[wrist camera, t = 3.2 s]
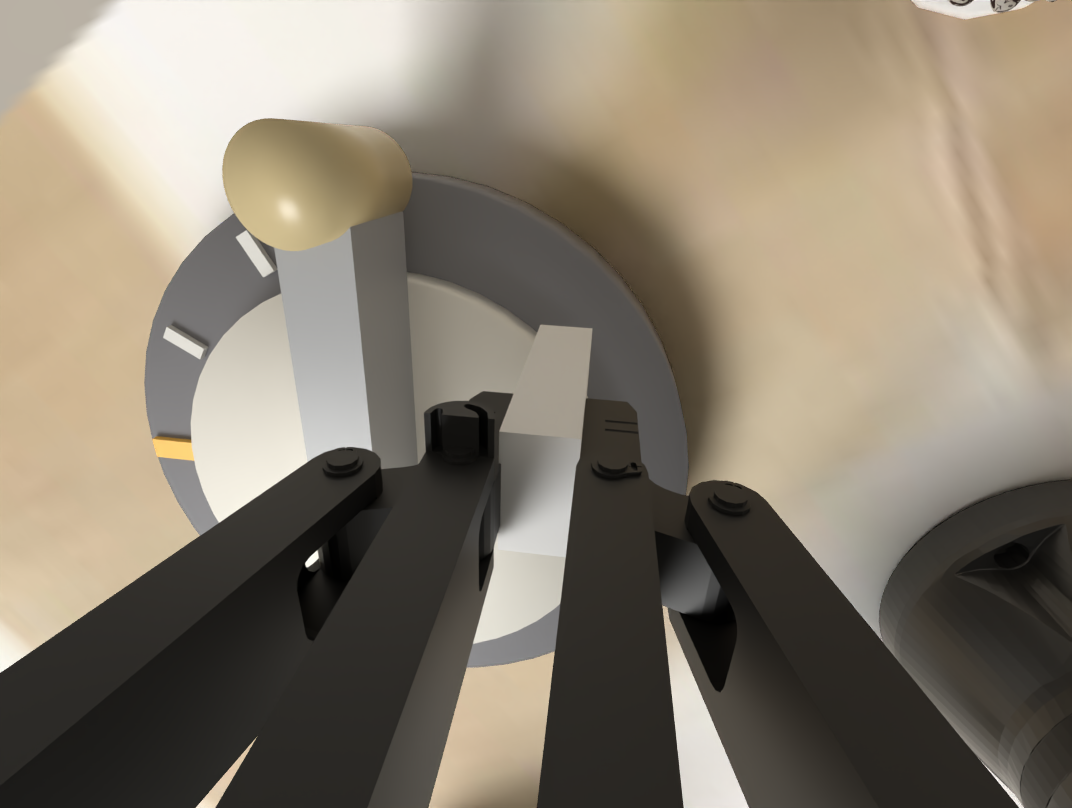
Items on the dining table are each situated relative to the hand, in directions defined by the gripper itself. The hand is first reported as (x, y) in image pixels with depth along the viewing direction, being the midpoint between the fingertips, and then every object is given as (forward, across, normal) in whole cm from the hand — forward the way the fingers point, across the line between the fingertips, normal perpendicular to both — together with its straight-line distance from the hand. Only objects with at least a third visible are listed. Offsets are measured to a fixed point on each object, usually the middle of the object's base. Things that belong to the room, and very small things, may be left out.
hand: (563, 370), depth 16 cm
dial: (+6, +8, +6) cm, 11 cm away
